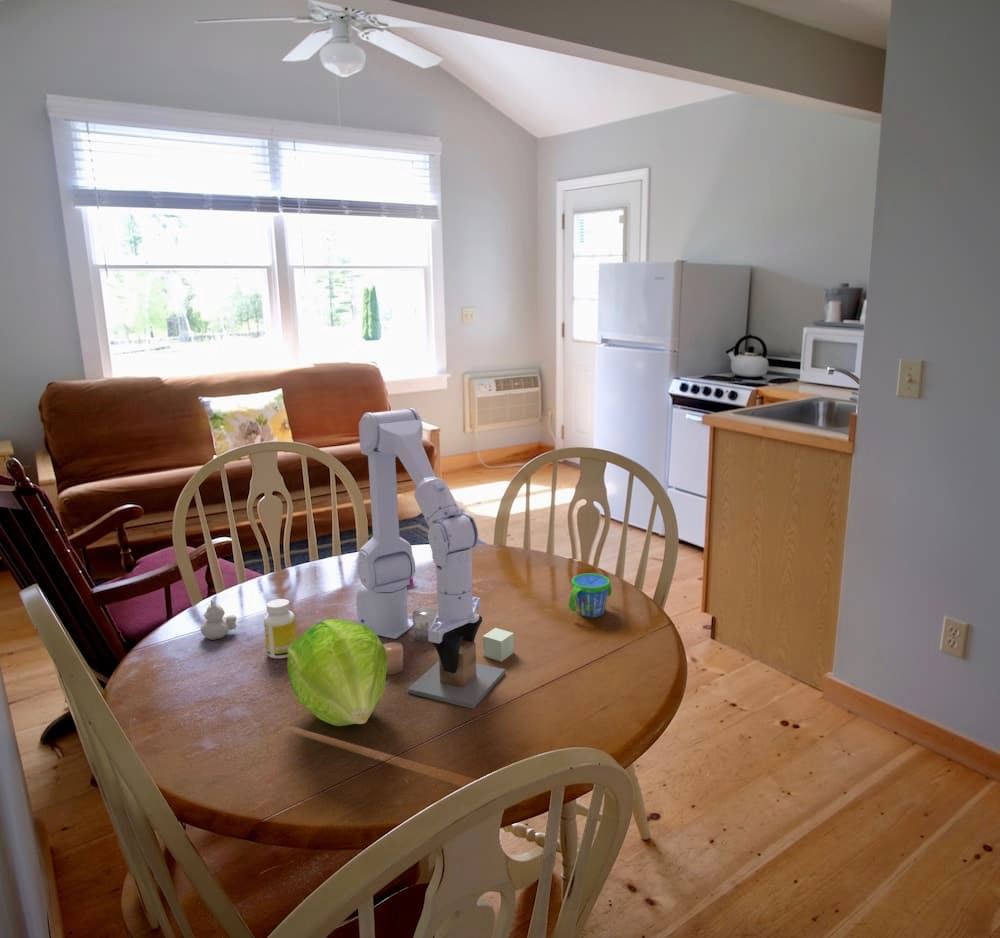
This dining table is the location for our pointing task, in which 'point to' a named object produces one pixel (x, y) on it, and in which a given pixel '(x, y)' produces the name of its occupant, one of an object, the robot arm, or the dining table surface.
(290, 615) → the supplement bottle
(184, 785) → the dining table surface
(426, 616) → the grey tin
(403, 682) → the dining table surface
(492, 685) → the slate coaster
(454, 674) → the walnut block
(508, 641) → the pale green block
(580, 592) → the snack cup
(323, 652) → the lettuce
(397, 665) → the peach rounded cylinder
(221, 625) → the grey rounded figure
